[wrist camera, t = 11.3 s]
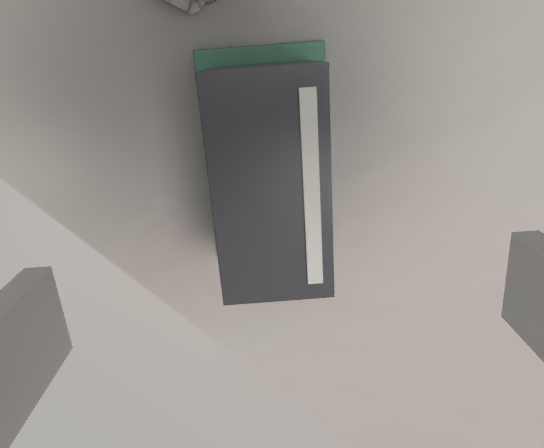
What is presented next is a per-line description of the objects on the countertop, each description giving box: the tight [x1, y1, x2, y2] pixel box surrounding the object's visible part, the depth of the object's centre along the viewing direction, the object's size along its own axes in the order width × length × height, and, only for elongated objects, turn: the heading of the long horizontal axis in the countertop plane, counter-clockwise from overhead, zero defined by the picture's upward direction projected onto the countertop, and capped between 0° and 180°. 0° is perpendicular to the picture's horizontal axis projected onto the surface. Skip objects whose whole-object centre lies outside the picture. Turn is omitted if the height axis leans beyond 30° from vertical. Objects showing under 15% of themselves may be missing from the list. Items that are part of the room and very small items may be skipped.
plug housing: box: [195, 60, 334, 305], centre depth 26 cm, size 12×6×8 cm, turn 4°
